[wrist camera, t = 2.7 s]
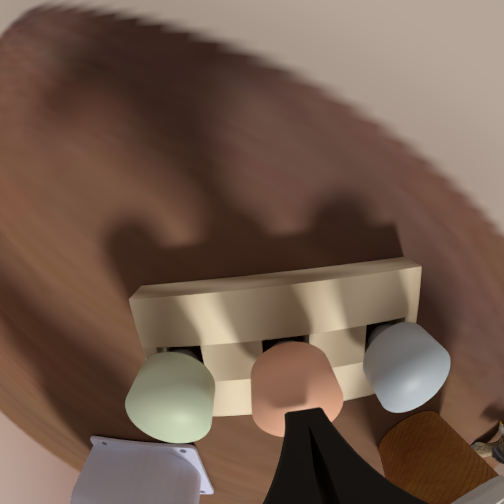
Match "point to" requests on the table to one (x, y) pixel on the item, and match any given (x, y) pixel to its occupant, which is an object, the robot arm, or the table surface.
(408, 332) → the slate button
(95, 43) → the table surface
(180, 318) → the button board
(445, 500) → the disposable coffee cup
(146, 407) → the sage button
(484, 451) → the eagle figurine
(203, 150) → the table surface
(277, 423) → the peach round knob
